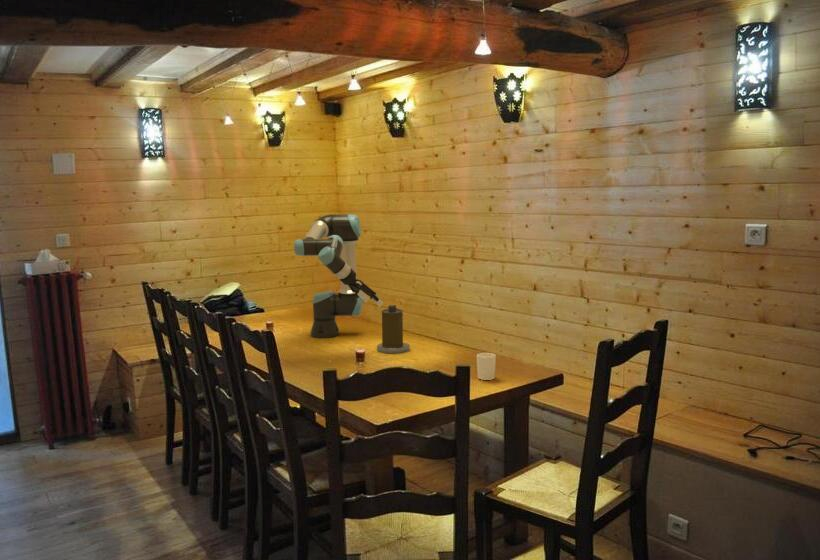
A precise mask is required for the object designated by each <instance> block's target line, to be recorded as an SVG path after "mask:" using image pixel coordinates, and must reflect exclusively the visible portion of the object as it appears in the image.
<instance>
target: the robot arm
mask: <svg viewBox="0 0 820 560" xmlns="http://www.w3.org/2000/svg"><path fill="white" fill-rule="evenodd" d="M359 218H360V217H359V216H358V215H357V214H352V213H351V214H350V213H347V214H346V213H345V214H344V213H343V214H325V215H322V216H320V217H318V218H317V219H315V220H314V221H313V222H312V223H311V224H310V226H309V231H308V232H307V233H306V235H305V236H304V238H299V239H296V240H295V241H294V245H293V248H294V249H293V250H294V253H295V255H296V256H302V257H304V256H317V258H318V260H319V261H320V262H321V263H322V265H324V266H325V267H326V268H327V269H328V270H329V271H330V272H331V273H332V274H333V275H334V277H335V278H338V279H339V280H340V288H339V289H338V292H337V293H336V292H335V291H334V290H329V291H328V290H327V291H320V292H317V293H315V294H314V295H313V298H312V308H313V309H312V310H313V311H312V312H313V316H312V317H313V322H312V326H311V329H310V336H311V337H312V338H319V339H322V338H323V339H324V338H325V339H327V338H334V337H337V336H339V335H340V330H339V329H340V328H339V327H338V324H337V321H336V317H337V316H338V317H339V316H341V317H347V316H348V317H350V316H351V317H354V316H355V317H357V316H360V315H361V314H362V310H363V306H364V305H363V304H364V303H368V301H369V300H372V302H374V303H375V304H376V305H377V306H378V307H379V308H381V306H383V304H384V301H383V300H382V299H380V297H379V296H378V295H377V292H376V291H374V290H373V289H372V288H370V287H369V286H368V285H367V284H365V283H364V282H363V281H362V280H360V279H358V277H357V275H358V274H357V273H358V272H357V245H356V244H357V243H358V242H359V238H360V237H362V226H361V221H360V219H359ZM325 238H327V239H325Z"/></svg>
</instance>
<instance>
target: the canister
mask: <svg viewBox="0 0 820 560" xmlns="http://www.w3.org/2000/svg"><path fill="white" fill-rule="evenodd" d="M380 311H381V330H382V331H381V336H382V337H381V339H382V340H381V343H382V347H384V348H400V347H403V343H404V333H403V332H404V331H403V330H404V327H403V325H404V324H403V320H404V319H403V313H404V311H403V309H398V308H397V306H396V304H389V305H388V308H387V309H382V310H380Z"/></svg>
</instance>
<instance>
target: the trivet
mask: <svg viewBox="0 0 820 560" xmlns="http://www.w3.org/2000/svg"><path fill="white" fill-rule="evenodd" d="M410 346H411V345H410V344H409V343H406V342H403V347H400V348H384V347H382V342H381V343H378V344H377V345H376V351H377V352H378V353H381V354H387V355H388V354H389V355H396V354H404V352H405V353H408V352H409V351H411V350H410V349H411V347H410ZM407 351H408V352H407Z"/></svg>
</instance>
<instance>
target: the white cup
mask: <svg viewBox="0 0 820 560" xmlns="http://www.w3.org/2000/svg"><path fill="white" fill-rule="evenodd" d="M496 358H497V355H496V354H495V353H491V352H480V353H477V354H476V368H477V372H476V373H477V379H478V378H479V379H484V380H491V379H494V380H495V376H496V374H495V373H496V366H497V365H496V363H497V362H496V361H497V359H496ZM479 379H478V380H479ZM491 381H492V380H491Z"/></svg>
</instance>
